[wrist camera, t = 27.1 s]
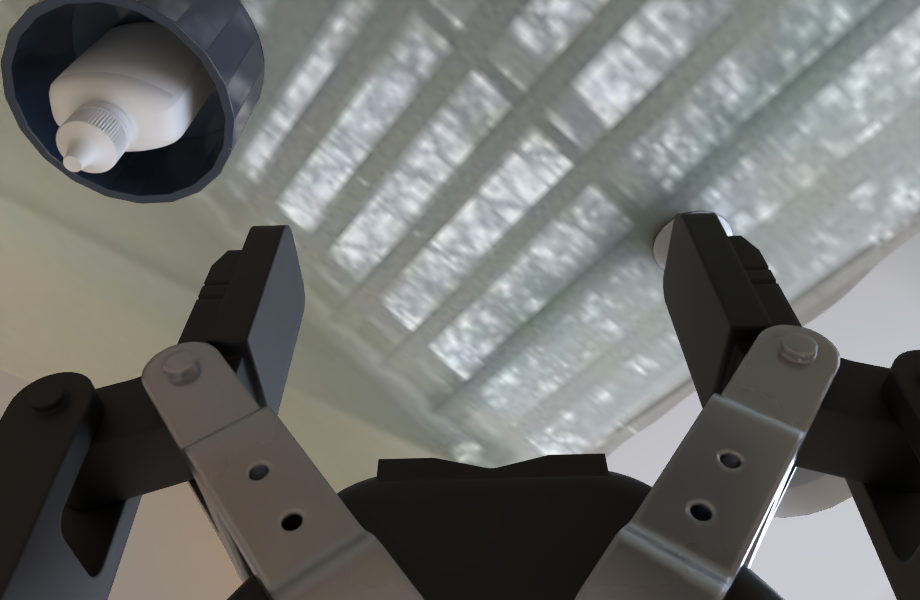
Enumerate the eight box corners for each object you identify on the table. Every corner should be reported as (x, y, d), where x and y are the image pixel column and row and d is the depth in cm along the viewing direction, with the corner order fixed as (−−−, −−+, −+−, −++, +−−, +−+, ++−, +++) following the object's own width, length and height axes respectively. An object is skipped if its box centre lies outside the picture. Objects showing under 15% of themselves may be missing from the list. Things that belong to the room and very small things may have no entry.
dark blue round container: (34, -45, 35) (-42, -2, 30) (239, -56, 35) (200, -15, 29) (108, 143, 41) (56, 207, 36) (281, 135, 41) (255, 198, 36)
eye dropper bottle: (131, -15, 35) (16, 79, 26) (234, 54, 38) (162, 164, 28) (98, 54, 38) (-19, 164, 28) (197, 116, 40) (119, 237, 30)
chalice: (617, 238, 46) (691, 464, 32) (712, 176, 43) (839, 394, 29) (675, 304, 49) (764, 534, 35) (766, 251, 47) (903, 478, 33)
